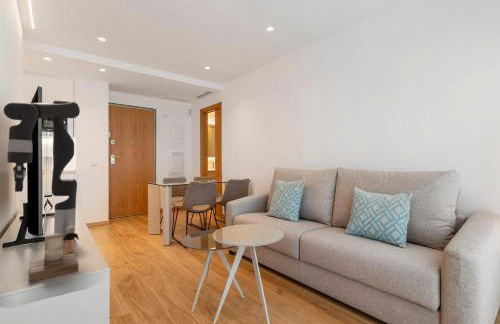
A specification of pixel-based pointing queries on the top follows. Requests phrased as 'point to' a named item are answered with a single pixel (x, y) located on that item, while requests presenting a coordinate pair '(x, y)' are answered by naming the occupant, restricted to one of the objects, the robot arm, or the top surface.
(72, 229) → the grandmother figurine
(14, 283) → the top surface
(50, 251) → the beech peg
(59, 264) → the walnut board
